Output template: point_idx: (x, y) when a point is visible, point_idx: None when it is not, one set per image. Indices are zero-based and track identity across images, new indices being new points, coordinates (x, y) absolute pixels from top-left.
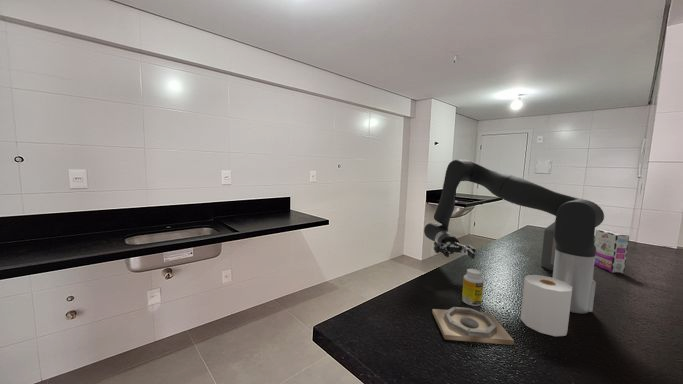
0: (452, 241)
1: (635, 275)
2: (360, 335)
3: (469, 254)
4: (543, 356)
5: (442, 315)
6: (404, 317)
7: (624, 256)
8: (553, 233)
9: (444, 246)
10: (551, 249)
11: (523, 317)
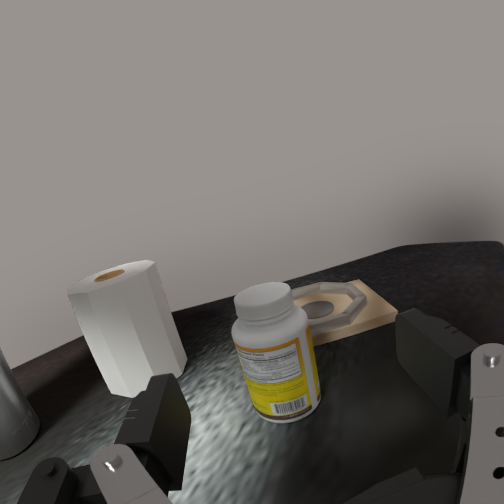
0: None
1: None
2: (461, 252)
3: (174, 437)
4: (218, 314)
5: (371, 304)
6: (439, 289)
7: None
8: None
9: (499, 392)
10: None
11: (180, 357)
